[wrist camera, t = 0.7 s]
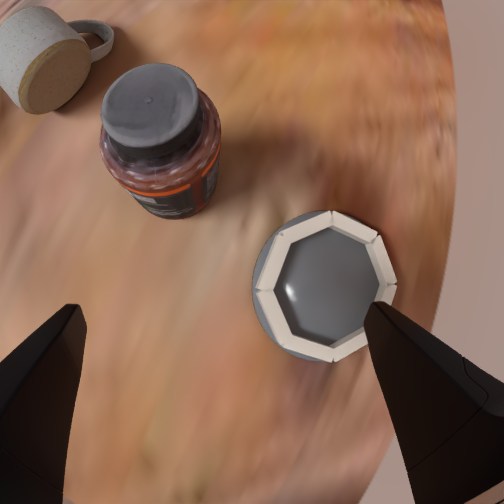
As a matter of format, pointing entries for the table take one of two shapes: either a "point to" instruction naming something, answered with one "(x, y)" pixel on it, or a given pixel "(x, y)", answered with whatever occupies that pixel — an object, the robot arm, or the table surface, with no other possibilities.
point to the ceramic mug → (47, 57)
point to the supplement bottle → (161, 139)
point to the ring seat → (321, 284)
